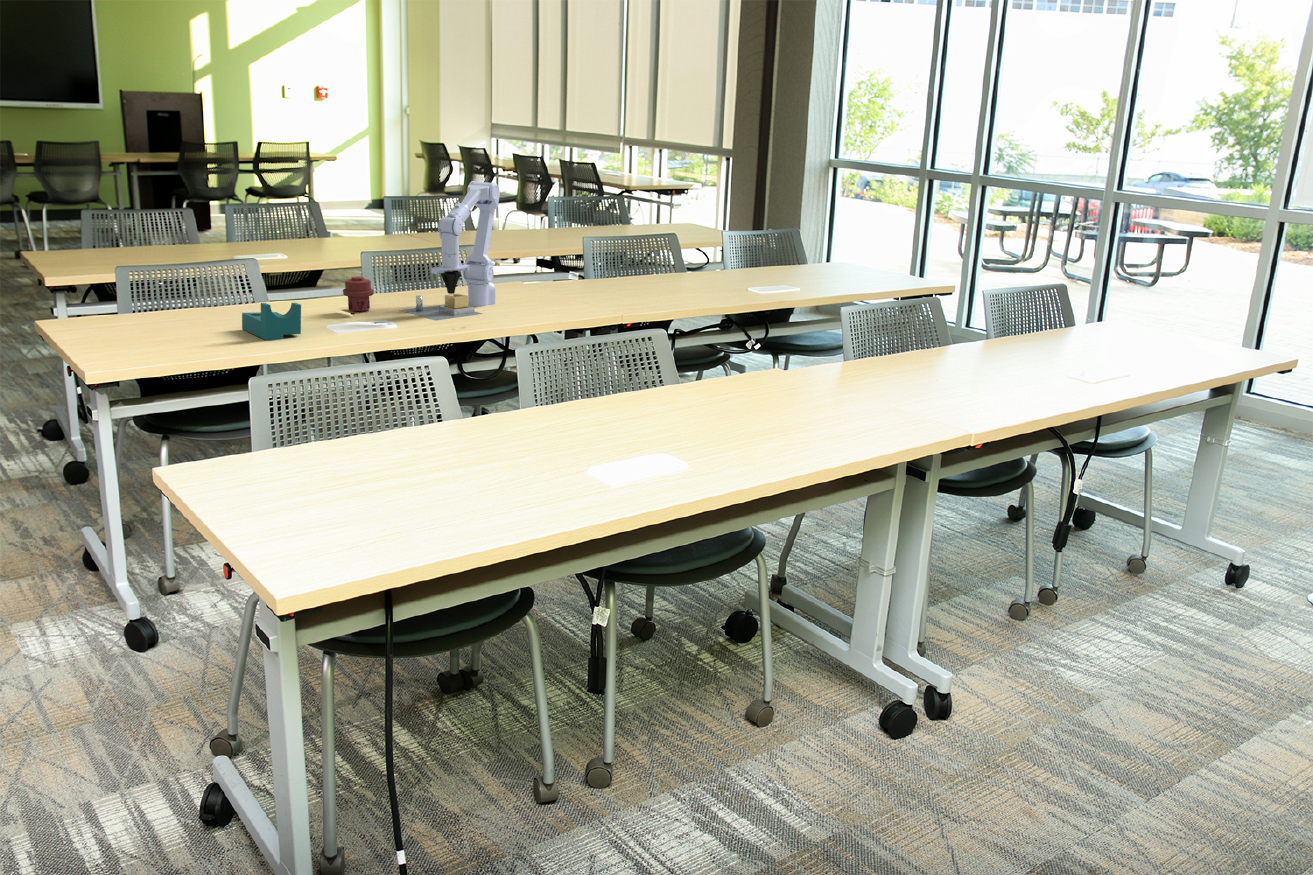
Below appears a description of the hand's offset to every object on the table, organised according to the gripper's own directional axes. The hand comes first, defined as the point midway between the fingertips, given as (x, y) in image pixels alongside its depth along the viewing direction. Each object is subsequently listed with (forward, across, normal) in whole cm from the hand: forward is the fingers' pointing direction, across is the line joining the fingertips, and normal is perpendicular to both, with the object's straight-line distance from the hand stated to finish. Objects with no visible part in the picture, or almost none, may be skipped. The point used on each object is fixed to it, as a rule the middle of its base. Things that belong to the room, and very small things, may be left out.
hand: (451, 293), depth 345 cm
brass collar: (+6, -2, 0) cm, 6 cm away
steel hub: (+7, -2, 0) cm, 7 cm away
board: (+8, +2, -4) cm, 9 cm away
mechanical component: (+8, +23, -21) cm, 32 cm away
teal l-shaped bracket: (+8, +61, -10) cm, 62 cm away
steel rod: (+7, +7, -9) cm, 13 cm away
